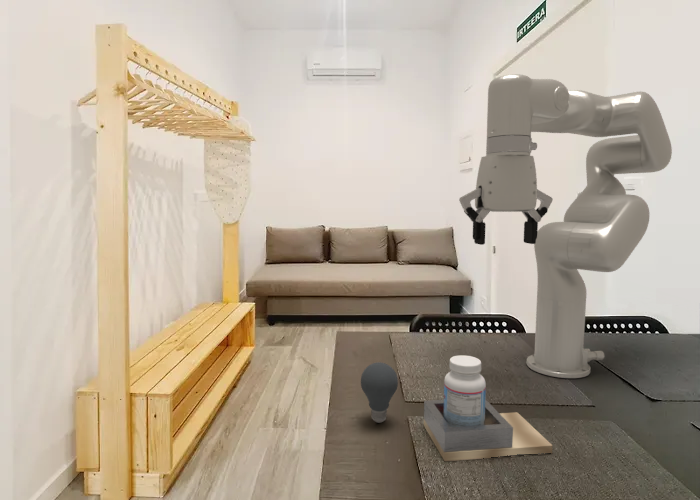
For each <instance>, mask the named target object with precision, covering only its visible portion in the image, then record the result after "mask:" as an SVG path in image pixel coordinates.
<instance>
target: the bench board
mask: <svg viewBox="0 0 700 500" xmlns="http://www.w3.org/2000/svg"><path fill="white" fill-rule="evenodd" d="M498 413H499V412H498ZM499 414H500V415H501V416H502V417H503V418H504V419H505V420H506V421H507V422H508V423H509V424H510V425H511V426H512V427H513V442H512V448H500V449H486V450H472V451H459V452H445V453H444V451H443V449H442V448H441V446H440V444H439V443H438V441H437V439H436V438H435V436H434V434H433V433H432V431H431V429H430V428H429V426H428V424H427V423H426V421H425V420H424V419H423V427H424V429H425V430H426V432H427V434H428V435H429V438H431V439H430V440H432V442H433V444H434V445H435V447H436V450H438V453H439V454H440V456H441V457H442V459H443V461H444V462H454V461H455V462H456V461H467V460H468V461H470V460H480V459H481V460H482V459H483V458H484V459H492V458H491V457H498V456H499V457H498V458H501V457H500V456H507V455H508V456H509V455H517V454H538V453H540V454H538V455H542V454H541V453H544V454H543V455H546V454H545V453H551V454H553V444H552V443H551V442H549V441H548V440H547V438H546V437H544V436H543V435H542V434H541V433H540V432H539V431H538V430H537V429H535V428H534V427H533V426H532V424H531V423H529V421H527V419H525V418H524V417H523V416H522V415H521V414H519V412H516V411H514V412H501V413H499ZM484 459H483V460H484Z"/></svg>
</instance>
